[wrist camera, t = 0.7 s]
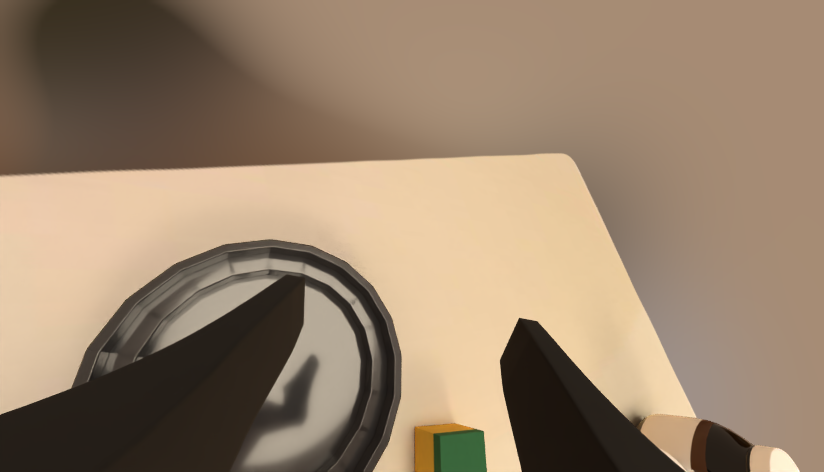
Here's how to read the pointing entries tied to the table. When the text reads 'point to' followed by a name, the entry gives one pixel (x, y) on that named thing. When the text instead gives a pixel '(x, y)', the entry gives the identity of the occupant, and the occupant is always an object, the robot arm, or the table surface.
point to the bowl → (307, 365)
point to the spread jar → (711, 446)
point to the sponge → (449, 449)
